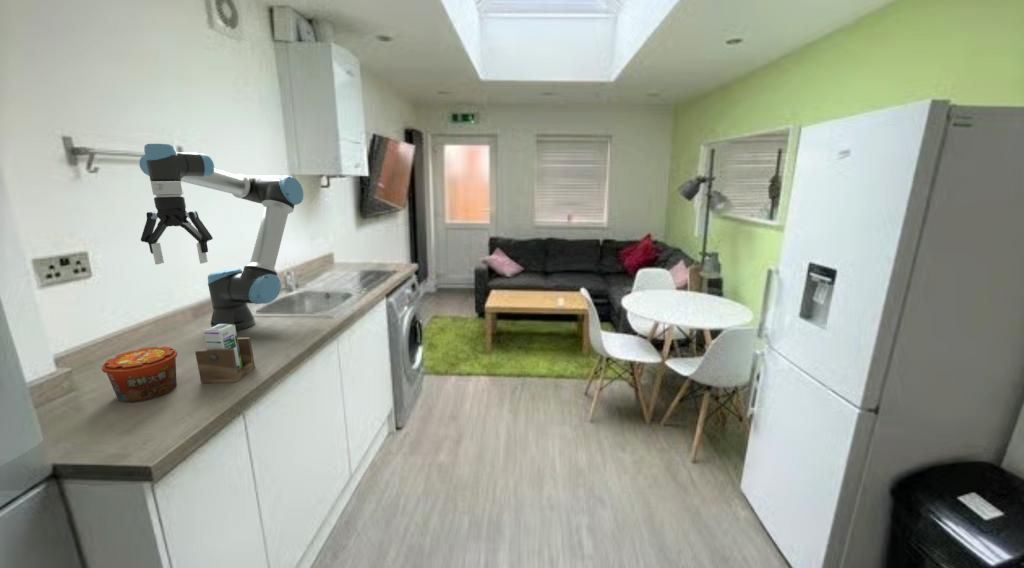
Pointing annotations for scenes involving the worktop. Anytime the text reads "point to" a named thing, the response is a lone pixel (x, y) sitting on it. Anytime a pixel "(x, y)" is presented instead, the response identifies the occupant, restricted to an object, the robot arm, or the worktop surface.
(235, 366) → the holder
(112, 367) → the food container
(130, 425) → the worktop surface
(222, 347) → the syrup box
